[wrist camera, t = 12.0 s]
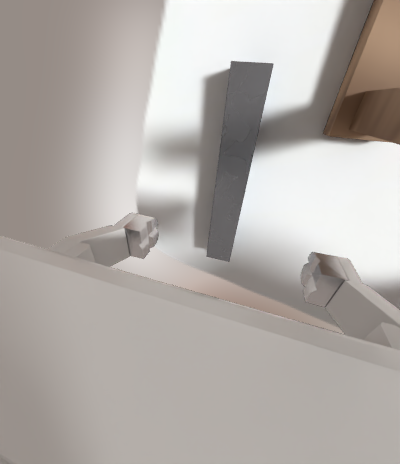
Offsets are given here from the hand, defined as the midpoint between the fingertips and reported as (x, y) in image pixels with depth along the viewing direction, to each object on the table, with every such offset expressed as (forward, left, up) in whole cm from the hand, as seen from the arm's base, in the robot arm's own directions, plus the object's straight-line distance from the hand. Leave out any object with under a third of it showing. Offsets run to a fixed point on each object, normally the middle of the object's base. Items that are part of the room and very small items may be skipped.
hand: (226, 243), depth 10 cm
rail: (0, +1, -10) cm, 10 cm away
